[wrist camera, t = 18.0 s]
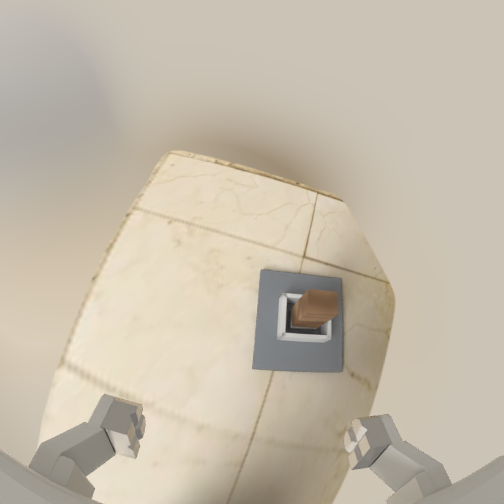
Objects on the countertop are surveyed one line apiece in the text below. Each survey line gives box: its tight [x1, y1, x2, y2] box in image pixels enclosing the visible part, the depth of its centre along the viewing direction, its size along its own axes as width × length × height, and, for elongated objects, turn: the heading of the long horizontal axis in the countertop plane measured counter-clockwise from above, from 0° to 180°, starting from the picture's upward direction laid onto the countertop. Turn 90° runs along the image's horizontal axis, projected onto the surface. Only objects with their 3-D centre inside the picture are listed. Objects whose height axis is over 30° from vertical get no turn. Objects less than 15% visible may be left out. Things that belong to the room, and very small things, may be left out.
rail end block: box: [289, 289, 338, 331], centre depth 37 cm, size 3×4×10 cm
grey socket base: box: [252, 270, 343, 372], centre depth 41 cm, size 16×14×4 cm
